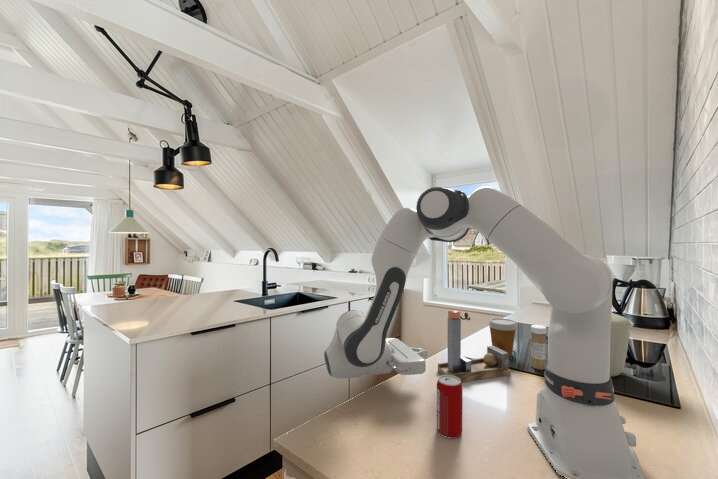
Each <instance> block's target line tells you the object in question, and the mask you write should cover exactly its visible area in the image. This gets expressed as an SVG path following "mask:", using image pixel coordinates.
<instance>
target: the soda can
mask: <svg viewBox="0 0 718 479" xmlns="http://www.w3.org/2000/svg"><path fill="white" fill-rule="evenodd" d="M436 432H437V433H438V434H439V433H440V434H441V435H443V436H446V437H450V438H455V439H457V438H456V437H458V438H459V437H461V436H462V435H463V385H462V382H461V380H460V379H459V378H458V377H456V376H453V375H442V374H441V375H439V376H438V377H437V382H436ZM440 434H439V435H440ZM441 435H440V436H441ZM443 436H442V437H443Z"/></svg>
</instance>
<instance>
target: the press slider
mask: <svg viewBox="0 0 718 479" xmlns="http://www.w3.org/2000/svg"><path fill="white" fill-rule="evenodd" d="M461 324H462V320H461V311H459V310H453V309H451V310H450V309H449V310H447V362H448V366H447V369H448V370H450V371H451V372H460V371H461V370H462V371H463V372H469V371H471V360H470V359H469V358H467V357H465V356H464V355H463V354H462V353H461V351H462V350H461V348H462V347H461V346H462V343H461V342H462V341H461V340H462V339H461V338H462V337H461V335H462V331H461V330H462V326H461Z"/></svg>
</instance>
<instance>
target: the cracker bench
mask: <svg viewBox="0 0 718 479" xmlns="http://www.w3.org/2000/svg"><path fill="white" fill-rule="evenodd" d="M469 360H471V371H469V372H463V371H462V370H461V371H460V372H451V371H450V370H448V369H447V366H448V361H447V362H446V361H445V362H439V363H437V372H438V373H439V374H441V375H453V376H456V377H458V378H459V379H460V380H461V383H467V381H468V382H472V381H473V382H474V381H480V380H487V379H493V378H501V377H508V376H512V375H511V374H512V372H511V369H510V368H509V357H508V353H507V352H505V351H503V350H501V349H499V348H497V347H495V346H492V345H488V346H487V348H486V353H485V355H484V356H483V357H480V358H470V359H469Z"/></svg>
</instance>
